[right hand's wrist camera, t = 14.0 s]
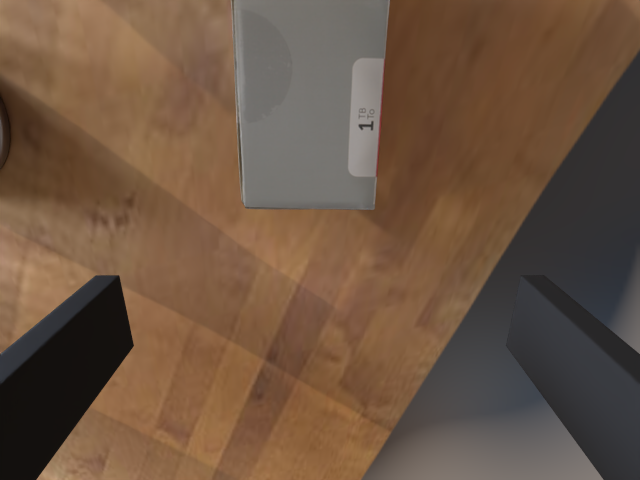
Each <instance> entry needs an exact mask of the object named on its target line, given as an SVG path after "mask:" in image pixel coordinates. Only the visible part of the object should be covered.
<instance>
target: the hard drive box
mask: <svg viewBox="0 0 640 480" xmlns="http://www.w3.org/2000/svg"><path fill="white" fill-rule="evenodd" d="M389 5H390V0H231V7H232V27H233V47H234V70H235V93H236V116H237V139H238V160H239V176H240V189H241V200H242V202H243V204H244V205H245V208H248V209H346V210H374V209H375V196H376V182H377V172H378V159H379V145H380V132H381V118H382V102H383V85H384V70H385V51H386V38H387V26H388V16H389Z"/></svg>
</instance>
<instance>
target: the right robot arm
mask: <svg viewBox="0 0 640 480" xmlns="http://www.w3.org/2000/svg"><path fill="white" fill-rule="evenodd" d="M9 146H10V127H9V121H8V117H7V113H6V110H5V107H4V104H3V102H2V99H1V97H0V169H1V168H2V166H3V164H4V162H5V160H6V158H7V155H8V151H9ZM133 346H134V344H133V339H132V335H131V330H130V325H129V320H128V315H127V311H126V306H125V301H124V296H123V291H122V286H121V282H120V277H119V275H96V276H95V277H93V278H92V279H91V280H90V281H89V282H87V283H86V284H85V285H84V286H82V287H81V288H80V289H79V290H78V291H76V292H75V293H74V294H73V295H72V296H70V297H69V298H68V299H67V300H65V301H64V302H63V303H62V304H61V305H59V306H58V307H57V308H56V309H55V310H53V311H52V312H51V313H50V314H48V315H47V316H46V317H45V318H44V319H42V320H41V321H40V322H39V323H38V324H36V325H35V326H34V327H33V328H32V329H30V330H29V331H28V332H27V333H25V334H24V335H23V336H22V337H21V338H19V339H18V340H17V341H16V342H15V343H13V344H12V345H11V346H10V347H8V348H7V349H6V350H5V351H4V352H2V353H1V354H0V480H36V479H37V478H38V477H39V475H40V474H41V472H42V471H43V470H44V468H45V467H46V466H47V464H48V463H49V462H50V460H51V459H52V457H53V456H54V455H55V453H56V452H57V451H58V449H59V448H60V446H61V445H62V444H63V442H64V441H65V440H66V438H67V437H68V435H69V434H70V433H71V431H72V430H73V429H74V427H75V426H76V424H77V423H78V422H79V420H80V419H81V418H82V416H83V415H84V414H85V412H86V411H87V409H88V408H89V407H90V405H91V404H92V403H93V401H94V400H95V398H96V397H97V396H98V394H99V393H100V392H101V390H102V389H103V387H104V386H105V385H106V383H107V382H108V381H109V379H110V378H111V377H112V375H113V374H114V372H115V371H116V370H117V368H118V367H119V366H120V364H121V363H122V361H123V360H124V359H125V357H126V356H127V355H128V353H129V352H130V350H131V349H132V348H133ZM506 346H507V348H508V349H509V350H510V352H511V353H512V355H513V356H514V357H515V359H516V360H517V361H518V363H519V364H520V366H521V367H522V368H523V370H524V371H525V372H526V374H527V375H528V377H529V378H530V379H531V381H532V382H533V383H534V385H535V386H536V387H537V389H538V390H539V392H540V393H541V394H542V396H543V397H544V398H545V400H546V401H547V403H548V404H549V405H550V407H551V408H552V409H553V411H554V412H555V414H556V415H557V416H558V418H559V419H560V420H561V422H562V423H563V424H564V426H565V427H566V428H567V430H568V431H569V433H570V434H571V435H572V437H573V438H574V440H575V441H576V442H577V444H578V445H579V446H580V448H581V449H582V451H583V452H584V453H585V455H586V456H587V457H588V459H589V460H590V461H591V463H592V464H593V466H594V467H595V468H596V470H597V471H598V472H599V474H600V475H601V477H602V478H603V479H604V480H640V354H639V353H638V352H636V351H635V350H634V349H633V348H632V347H630V346H629V345H628V344H627V343H625V342H624V341H623V340H622V339H621V338H619V337H618V336H617V335H616V334H615V333H613V332H612V331H611V330H610V329H608V328H607V327H606V326H605V325H604V324H602V323H601V322H600V321H599V320H598V319H596V318H595V317H594V316H593V315H591V314H590V313H589V312H588V311H587V310H585V309H584V308H583V307H582V306H581V305H579V304H578V303H577V302H576V301H575V300H573V299H572V298H571V297H570V296H568V295H567V294H566V293H565V292H564V291H562V290H561V289H560V288H559V287H558V286H556V285H555V284H554V283H553V282H551V281H550V280H549V279H548V278H547V277H545V276H544V275H542V276H541V275H540V276H539V275H536V276H535V275H534V276H530V275H529V276H525V275H524V276H521V277H520V282H519V286H518V291H517V296H516V301H515V306H514V311H513V316H512V320H511V325H510V330H509V335H508V339H507V344H506Z"/></svg>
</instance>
